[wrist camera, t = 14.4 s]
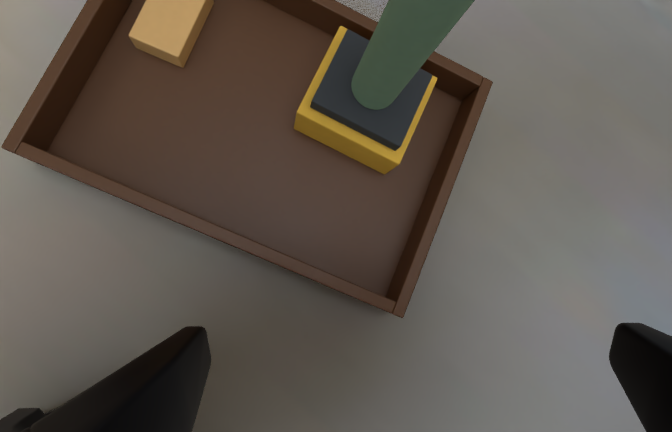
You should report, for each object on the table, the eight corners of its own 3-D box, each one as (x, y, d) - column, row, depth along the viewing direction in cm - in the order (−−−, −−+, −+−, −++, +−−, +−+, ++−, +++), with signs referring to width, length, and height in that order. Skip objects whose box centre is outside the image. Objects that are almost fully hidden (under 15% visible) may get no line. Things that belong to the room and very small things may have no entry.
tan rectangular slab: (183, 69, 21) (178, 57, 19) (135, 48, 20) (127, 35, 19) (214, 3, 21) (211, -12, 20) (168, -18, 21) (162, -35, 20)
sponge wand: (384, 175, 22) (519, 81, 10) (293, 128, 21) (323, -29, 10) (420, 97, 23) (582, -74, 11) (332, 50, 22) (404, -184, 10)
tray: (469, 100, 24) (493, 81, 21) (387, 311, 22) (403, 318, 19) (159, -57, 22) (144, -98, 19) (34, 161, 20) (-1, 147, 17)
